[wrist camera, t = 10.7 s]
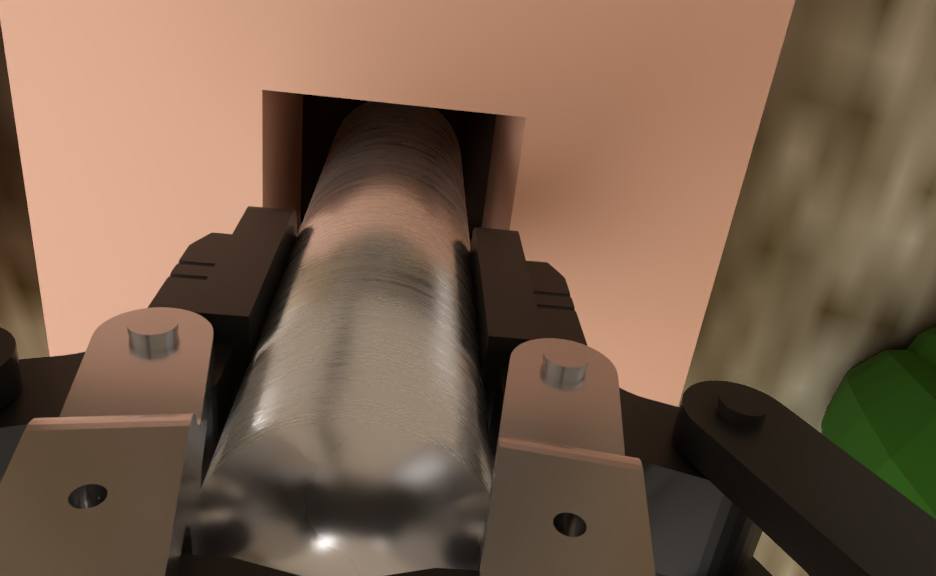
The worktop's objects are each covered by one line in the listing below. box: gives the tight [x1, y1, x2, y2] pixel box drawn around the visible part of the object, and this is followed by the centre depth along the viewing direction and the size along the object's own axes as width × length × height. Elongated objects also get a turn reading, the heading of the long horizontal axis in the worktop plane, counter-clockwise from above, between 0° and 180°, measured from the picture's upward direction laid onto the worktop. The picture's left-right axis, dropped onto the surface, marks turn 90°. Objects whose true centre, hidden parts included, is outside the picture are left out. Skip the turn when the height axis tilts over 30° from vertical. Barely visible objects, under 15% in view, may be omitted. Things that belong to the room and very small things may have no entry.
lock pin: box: [201, 101, 493, 576], centre depth 13 cm, size 3×3×12 cm
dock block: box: [0, 0, 795, 407], centre depth 17 cm, size 13×13×5 cm
